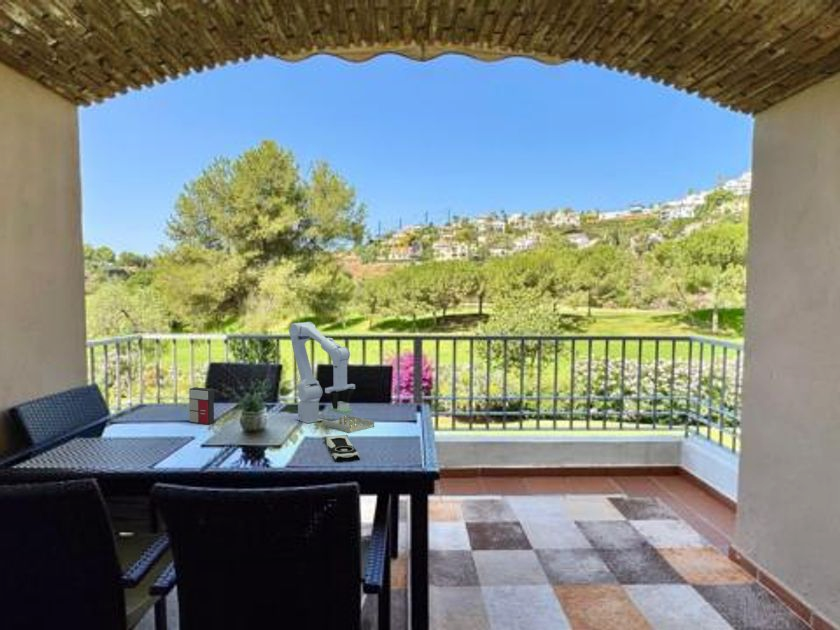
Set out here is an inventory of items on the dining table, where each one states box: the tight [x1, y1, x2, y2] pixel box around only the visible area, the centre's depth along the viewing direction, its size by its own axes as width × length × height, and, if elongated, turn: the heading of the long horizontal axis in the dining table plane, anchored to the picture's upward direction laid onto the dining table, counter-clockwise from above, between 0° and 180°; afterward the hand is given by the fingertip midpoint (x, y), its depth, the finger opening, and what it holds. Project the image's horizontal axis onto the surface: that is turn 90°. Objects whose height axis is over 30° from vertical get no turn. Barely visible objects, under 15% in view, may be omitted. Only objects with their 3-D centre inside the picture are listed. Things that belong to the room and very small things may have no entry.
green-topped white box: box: [328, 400, 353, 415], centre depth 244 cm, size 10×5×4 cm, turn 45°
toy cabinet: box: [188, 386, 216, 425], centre depth 250 cm, size 11×4×15 cm, turn 68°
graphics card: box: [321, 434, 361, 463], centre depth 210 cm, size 10×3×25 cm
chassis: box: [321, 413, 375, 434], centre depth 246 cm, size 18×14×3 cm
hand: (340, 407), depth 244 cm, fingers closed on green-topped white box, 5 cm apart
